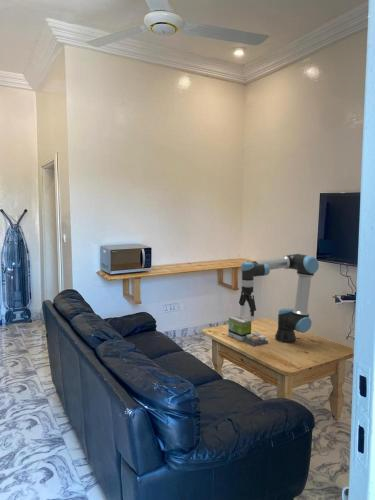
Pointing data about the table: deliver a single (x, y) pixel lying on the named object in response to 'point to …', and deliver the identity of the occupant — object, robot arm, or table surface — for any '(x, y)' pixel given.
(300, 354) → the table surface
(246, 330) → the tea box
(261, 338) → the ivory key
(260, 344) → the keypad board
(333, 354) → the table surface
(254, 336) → the sage key
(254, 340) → the rust key
